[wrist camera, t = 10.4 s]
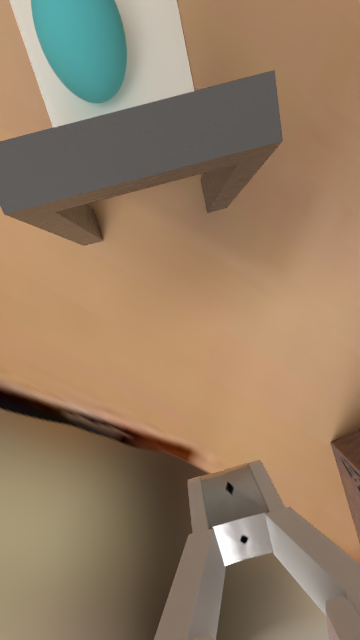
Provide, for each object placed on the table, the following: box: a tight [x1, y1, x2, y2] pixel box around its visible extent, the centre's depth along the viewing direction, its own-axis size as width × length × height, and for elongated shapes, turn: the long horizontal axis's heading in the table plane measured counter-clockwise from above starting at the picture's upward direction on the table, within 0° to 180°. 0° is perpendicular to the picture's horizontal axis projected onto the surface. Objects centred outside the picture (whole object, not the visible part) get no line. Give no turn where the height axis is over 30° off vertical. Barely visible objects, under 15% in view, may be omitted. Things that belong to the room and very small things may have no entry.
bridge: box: [0, 71, 283, 246], centre depth 14 cm, size 3×15×10 cm, turn 105°
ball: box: [31, 0, 127, 103], centre depth 14 cm, size 6×6×6 cm
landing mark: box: [10, 0, 194, 128], centre depth 16 cm, size 13×13×1 cm
